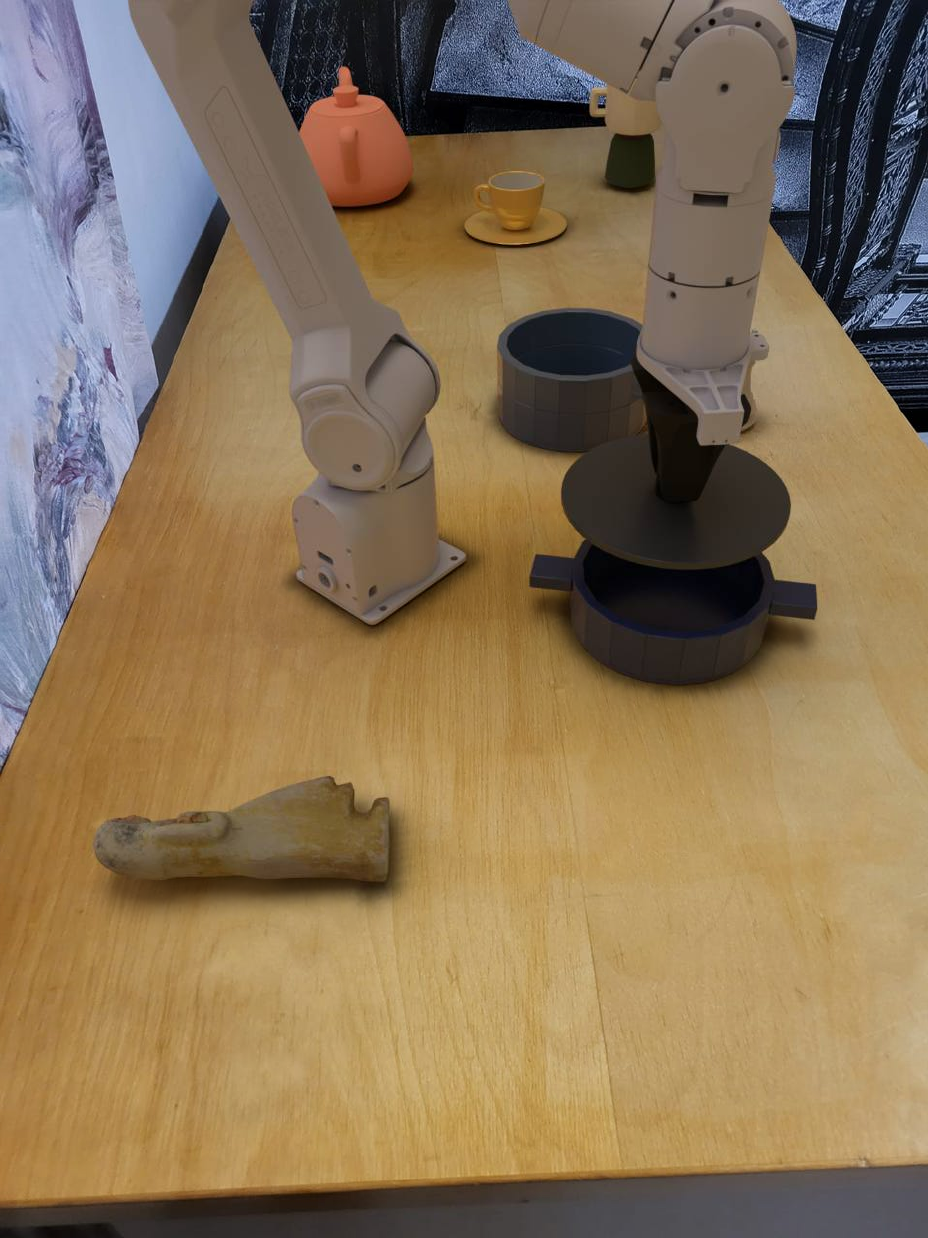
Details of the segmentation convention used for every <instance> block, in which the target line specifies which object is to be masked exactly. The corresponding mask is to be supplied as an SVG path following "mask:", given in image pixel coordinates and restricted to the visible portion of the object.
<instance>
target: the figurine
mask: <svg viewBox="0 0 928 1238" xmlns="http://www.w3.org/2000/svg"><path fill="white" fill-rule="evenodd" d="M355 792H356V791H355V788H354V784H353V783H352V781H349V782H345V783H342V784H337V782H336V781H335V777H334V776H332V775H326V776H321V777H316V778H314V779H309V780H305V781H301V782H296V783H293V784H290V785H288V786H283V787H281V788H277V789H275V790H271V791H270V792H267V793H264V794H262V795H260V796H258V797H255V798H253V799H251V800H249V801H247V802H244V803H242V804H239V805H238V806H236V807H234V808H232V809H230V810H229V811H217V810H207V811H200V810H199V811H198V810H197V811H195V810H194V811H192V810H191V811H185V812H180V813H179V815H178V816H177V818H167V819H162V820H155V821H151V819H150V818H148V817H144V816H140V815H136V814H132V815H128V816H126V817H114V818H111V819H107V820H105V821H104V822H102V823H101V824H100V825H99V827H97V829H96V832H95V834H94V837H93V843H92V846H93V851H94V855H95V857H96V860H97V861H98V862H99V863H100V864H101V865H102V866H103V867H104V868H105V869H107V870H109V871H111V872H113V873H115V874H118V875H120V876H123V877H126V878H127V877H128V878H131V879H138V880H154V881H155V880H156V881H157V880H161V881H162V880H163V881H164V880H169V879H171V878H172V879H173V878H184V877H189V878H190V877H195V878H209V877H227V876H228V877H229V876H245V877H249V878H255V879H260V880H276V879H277V880H278V879H297V878H299V879H301V878H333V879H334V878H335V879H345V880H346V879H348V880H355V881H356V880H357V881H364V882H374V883H383V882H385V881H386V880H387V878H388V873H389V863H390V809H391V807H390V805H391V804H390V803H391V802H390V798H389V797H387V796H383V797H377V798H376V799H375V800H373V803H372V805H371V808H370V809H369V810H367V811H366V812H359V811H358V810H357V809H356V808H355V796H356V795H355Z"/></svg>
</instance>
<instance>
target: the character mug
mask: <svg viewBox="0 0 928 1238" xmlns="http://www.w3.org/2000/svg"><path fill="white" fill-rule="evenodd" d="M639 73H640V71H639V72H638V74H637V76H636V78H635V80H634V82H633V84H632V86H631V88H630V90H629V92H628V94H625V93H623V92H621V91H620V90H618V89H616V88H614V87H612V86H610V85H608V84H607V83H606V87H605V86H604V87H603V86H600V87H599V86H597V87H596V86H595V87H593V88H591V90H590V93H589V94H590V95H589V96H590V97H589V115H590V117H592V118H604V123H605V125H606V128H607V130H608V131H610V132H612V133H614V134H613V136H612V138H611V140H610V144H609V149H608V156H607V161H606V166H605V173H604V178H605V180H606V181H607V182H609V183H610V184H611V185H613V186H616V187H621V188H627V189H628V188H631V189H632V188H633V189H635V188H639V187H644V186H647V185H648V184H650V183H652V182H653V181H654V180H655V179H656V156H655V155H656V153H655V140H654V137H653V135H652V134H653V133H655V132H657V131H659V130H660V129H661V127H662V126H663V123H662V121H661V119H660V116H659V113H658V109H657V105H656V102H653V101H639V100H636V99H634V98H632V97H631V96H629V94H630V92H631V90H632V88H633V86H634V84H635V81H636V79H637V77H638V75H639ZM599 97H605V108H600V107H599Z"/></svg>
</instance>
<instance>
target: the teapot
mask: <svg viewBox="0 0 928 1238" xmlns="http://www.w3.org/2000/svg"><path fill="white" fill-rule="evenodd" d="M332 92H333V93H332V94H333V96H328V97H325V98H324V97H323V98H321V99H318V100H316V101H315V102H313V103H312V104H311V105H310V106H309V108H308V110H307V112H306V114H305V116H304V119H303V121H302V124H301V127H300V129H299V131H298V132H299V134H300V136H301V139H302V141H303V143H304V145H305V148H306V150H307V152H308V154H309V157H310V159H311V161H312V163H313V166H314V168H315V170H316V172H317V175H318V177H319V179H320V181H321V183H322V186H323V188H324V190H325V192H326V195H327V197H328V199H329V201H330V204H331V206H332V207H364V206H371V205H376V204H381V203H385V202H387V201H391V200H393V199H394V198H396V197H398V196H399V195H400V194H402V192H404V189H405V188H406V187H407V185H408V184H409V183H410V181H411V179H412V176H413V173H414V160H413V157H412V152H411V147H410V145H409V142H408V139H407V136H406V134H405V132H404V131H403V129H402V127H401V125H400V124H399V123H400V122H398V119H397V118H396V117H395V115H394V114H393V112H392V111H391V108H389V107H388V105H387V104H386V103H385V101H384V100H382V99H381V98H379V97H377V96H374V95H368V94H359V87H357V86H355V85H354V84H353V79H352V75H351V71H350V68H348V67H347V66H340V68H339V70H338V86H336V87H334V88H333V89H332Z"/></svg>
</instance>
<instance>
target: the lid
mask: <svg viewBox="0 0 928 1238" xmlns="http://www.w3.org/2000/svg"><path fill="white" fill-rule="evenodd" d="M560 501H561V507H562V510H563V513H564V515H565V518H566V519H567V520H568V523H569V524H570V525H571V526H572V528H573V529H574V530H575V531H576V533H578V534H579V535H580V536H581V537H582V538H584V540H585V539H586V540H588V541H589V542H591V543H592V544H593V545H595V546H597V547H598V548H600V549H602V550H604V551H606V552H608V553H610V554H612V555H615V556H617V557H619V558H622V559H625V560H628V561H631V562H634V563H639V564H643V565H647V566H652V567H659V568H665V569H679V570H698V569H709V568H716V567H722V566H727V565H731V564H734V563H738V562H741V561H744V560H746V559H749V558H751V557H754V556H756V555H757V554H759V553H761V552H762V553H763V552H764V551H766V550H767V549H769V548H770V547H771V546H773V545H774V544H775V543H776V542H777V541H778V540H779V539H780V538H781V537H782V535H783V534H784V532H785V530H786V528H787V526H788V523H789V520H790V516H791V510H792V501H791V495H790V493H789V490H788V487H787V485H786V484H785V482H784V481H783V479H782V478H781V477H780V475H779V474H778V473H777V472H776V471H775V470H774V469H773V468H772V467H771V466H769V465H768V464H767V463H766V462H765V461H764V460H762V459H760V458H759V457H758V456H755V455H754V454H751V453H750V452H749V451H746V450H745V449H742V448H740V447H737V446H736V445H734V444H727V445H726V446H725V448H724V449H723V451H722V452H721V454H720V456H719V457H718V459H717V461H716V463H715V465H714V467H713V470H712V472H711V474H710V476H709V479H708V481H707V483H706V485H705V487H704V489H703V491H702V493H701V495H700V497H699V499H698V500H697V501H686V502H665V501H664V499H663V496H662V492H661V487H660V480H659V460H658V465H657V474H655V471H654V468H653V464H652V460H651V454H650V445H649V435H648V433H641V434H637V435H634V436H628V437H624V438H620V439H616V440H613V441H610V442H607V443H604V444H602V445H599V446H597V447H595V448H593V449H591V450H590V451H586V452H584V453H583V454H582V455H581V456H580V457H578V458H577V459H576V460H575V461H574V462H573V463H572V464H571V465H570V467H569V468H568V470H567V471H566V473H564V477H563V479H562V482H561V488H560Z"/></svg>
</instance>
